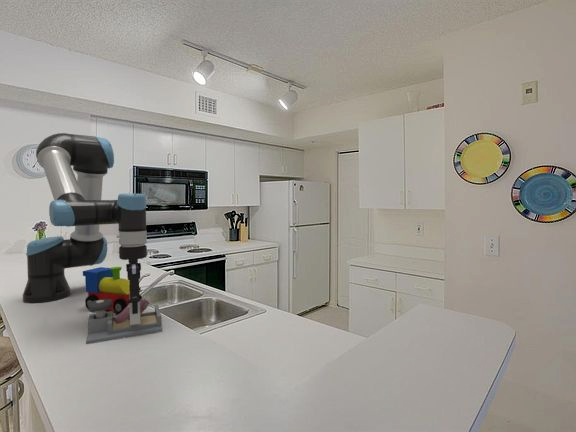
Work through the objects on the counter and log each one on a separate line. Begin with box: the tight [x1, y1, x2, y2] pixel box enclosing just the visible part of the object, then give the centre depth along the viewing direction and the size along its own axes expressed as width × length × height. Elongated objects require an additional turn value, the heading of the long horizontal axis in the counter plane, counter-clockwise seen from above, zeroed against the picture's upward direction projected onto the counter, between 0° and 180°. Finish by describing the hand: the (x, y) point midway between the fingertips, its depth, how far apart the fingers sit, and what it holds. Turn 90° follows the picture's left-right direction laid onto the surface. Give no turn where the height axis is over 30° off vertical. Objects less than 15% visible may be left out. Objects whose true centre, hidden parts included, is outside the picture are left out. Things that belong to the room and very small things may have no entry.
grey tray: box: [85, 304, 163, 345], centre depth 99 cm, size 16×19×4 cm
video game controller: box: [115, 298, 150, 324], centre depth 99 cm, size 10×5×7 cm, turn 170°
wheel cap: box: [87, 299, 112, 318], centre depth 96 cm, size 6×6×6 cm
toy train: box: [82, 266, 144, 315], centre depth 115 cm, size 9×20×15 cm, turn 71°
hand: (134, 317), depth 100 cm, fingers closed on video game controller, 10 cm apart
